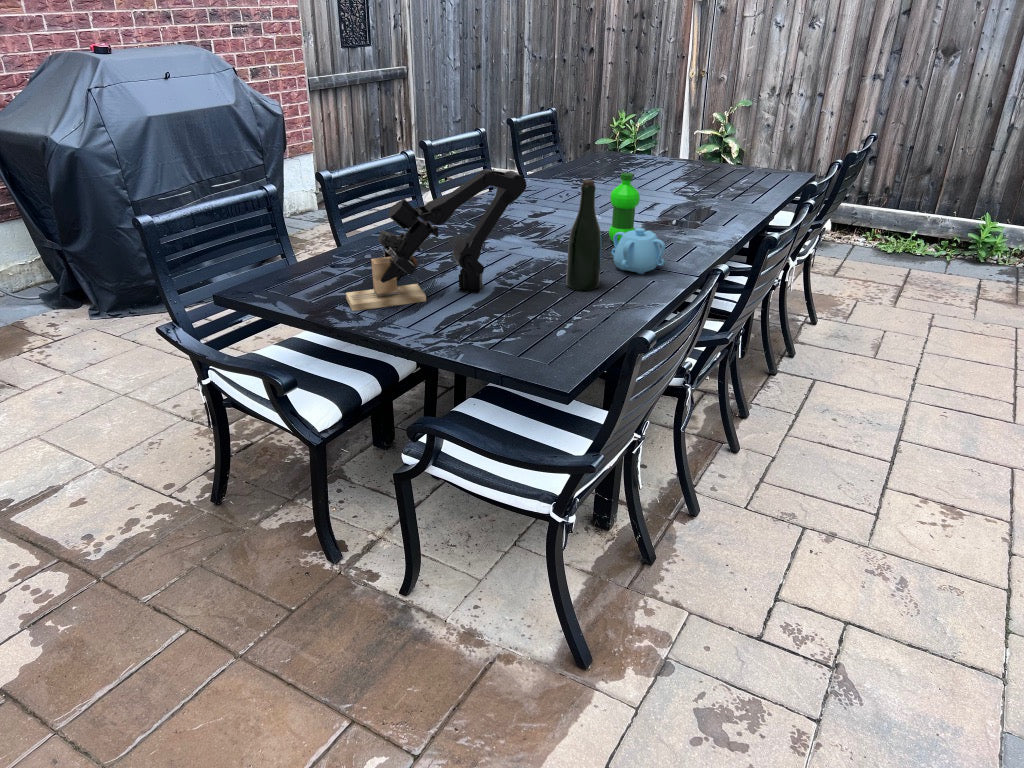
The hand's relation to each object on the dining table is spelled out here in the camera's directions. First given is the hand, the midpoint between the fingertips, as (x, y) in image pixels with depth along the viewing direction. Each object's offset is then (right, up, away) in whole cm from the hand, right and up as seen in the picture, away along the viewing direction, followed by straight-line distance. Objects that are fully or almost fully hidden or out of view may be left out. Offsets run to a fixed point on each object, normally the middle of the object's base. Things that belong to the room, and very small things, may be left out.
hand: (379, 278), depth 218 cm
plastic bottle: (+79, +21, +55) cm, 99 cm away
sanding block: (+1, -4, +3) cm, 5 cm away
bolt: (+2, +4, +22) cm, 23 cm away
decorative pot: (+81, +8, +31) cm, 87 cm away
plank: (+1, -6, +4) cm, 7 cm away
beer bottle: (+61, 0, +16) cm, 63 cm away
